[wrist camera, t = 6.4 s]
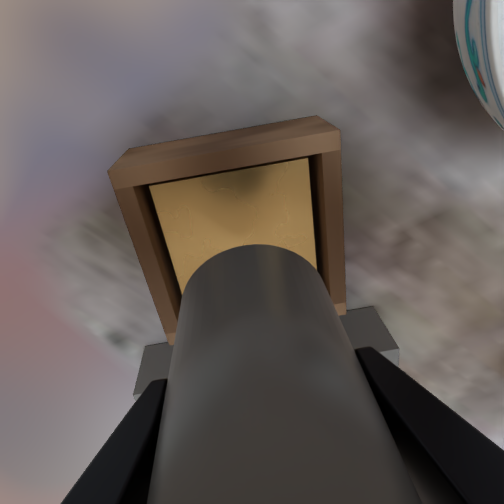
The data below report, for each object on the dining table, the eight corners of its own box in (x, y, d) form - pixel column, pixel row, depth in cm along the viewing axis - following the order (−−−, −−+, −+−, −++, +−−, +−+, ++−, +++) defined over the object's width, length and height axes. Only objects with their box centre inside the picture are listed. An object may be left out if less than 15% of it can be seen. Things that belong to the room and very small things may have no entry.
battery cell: (323, 232, 10) (814, 1085, 2) (329, 351, 12) (559, 986, 4) (164, 257, 10) (-117, 1217, 2) (198, 371, 12) (145, 1047, 4)
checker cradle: (316, 115, 18) (344, 132, 14) (326, 275, 23) (349, 321, 19) (128, 148, 18) (103, 174, 14) (177, 302, 23) (168, 353, 19)
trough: (373, 306, 24) (399, 348, 21) (372, 387, 28) (394, 434, 25) (145, 346, 24) (132, 395, 21) (175, 421, 28) (169, 473, 25)
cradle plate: (303, 152, 17) (307, 158, 16) (314, 279, 20) (318, 289, 20) (152, 179, 17) (148, 186, 16) (188, 301, 21) (187, 312, 20)
